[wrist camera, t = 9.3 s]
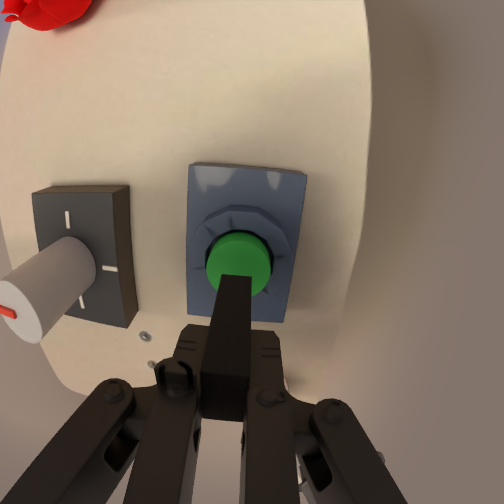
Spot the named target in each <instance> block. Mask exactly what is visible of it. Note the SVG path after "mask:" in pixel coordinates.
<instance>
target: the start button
mask: <svg viewBox="0 0 504 504" xmlns="http://www.w3.org/2000/svg"><path fill="white" fill-rule="evenodd" d="M206 272H207V277H208V279H209V281H210V283H211V285H212V286H213V287H214V288H215V289H216V290H217V291H218V287H219V283H220V278H221V274H229V275H240V276H251V277H252V296H254V295H256V294H257V293H259V292H260V291H261V290H262V289H263V288H264V287H265V286H266V285H267V283H268V281H269V278H270V274H271V268H270V259H269V253H268V251H267V248H266V247H265V245H264V244H263V243H262V242H261V241H260V240H259V239H258V238H257V237H255V236H253V235H251V234H248V233H242V232H236V233H230V234H228V235H225V236H223V237H222V238H220V239H219V240H218V241H217V242H216V243H215V245H214V246H213V248H212V250H211V253H210V256H209V258H208V261H207V266H206Z"/></svg>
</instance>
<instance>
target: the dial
mask: <svg viewBox="0 0 504 504" xmlns="http://www.w3.org/2000/svg"><path fill="white" fill-rule="evenodd" d="M95 276H96V265H95V261H94V258H93V256H92V254H91V252H90V250H89V249H88V248H87V246H86V245H85V244H84V243H83V242H81V241H80V240H78V239H77V238H74V237H70V236H67V237H63V238H61V239H59V240H58V241H56V242H55V243H53V244H51V245H50V246H48V247H47V248H45V249H44V250H42V251H41V252H39V253H38V254H36V255H35V256H33V257H32V258H31V259H29V260H28V261H26V262H25V263H23V264H22V265H21V266H19V267H18V268H17V269H15V270H14V271H12V272H11V273H10V274H8V275H7V276H6V277H5V278H3V279H2V280H1V281H0V314H2V316H3V318H4V320H5V321H6V322H7V324H8V325H9V327H10V328H11V329H12V330H13V331H14V332H15V333H16V334H17V335H18V336H19V337H21V338H22V339H23V340H25V341H27V342H30V343H33V344H35V343H39V342H40V341H41V340H42V339H43V337H44V336H45V335H46V334H47V333H48V332H49V330H50V329H51V328H52V327H53V326H54V325H55V323H56V322H57V321H58V320H59V319H60V318H61V317H62V316H63V314H64V313H65V312H66V311H67V310H68V309H69V308H70V307H71V306H72V304H73V303H74V302H75V301H76V300H77V299H78V298H79V297H80V296H81V295H82V294H83V293H84V292H85V291H86V290H87V289H88V288H89V286H90V285H91V284H92V283H93V282H94V280H95Z"/></svg>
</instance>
